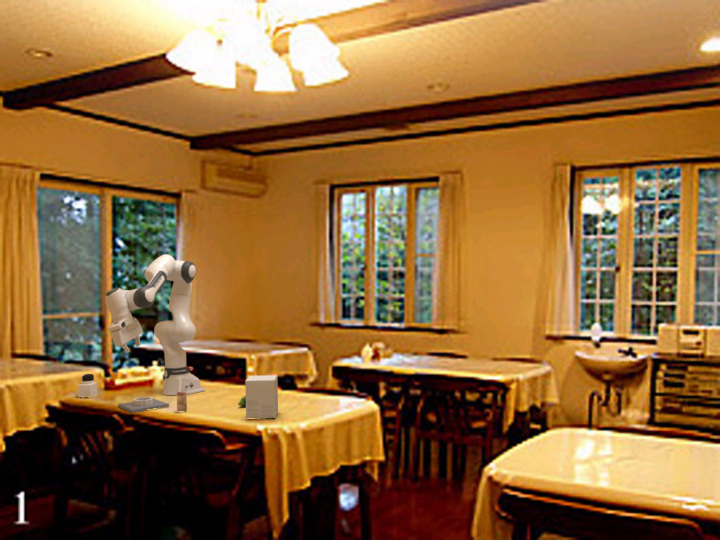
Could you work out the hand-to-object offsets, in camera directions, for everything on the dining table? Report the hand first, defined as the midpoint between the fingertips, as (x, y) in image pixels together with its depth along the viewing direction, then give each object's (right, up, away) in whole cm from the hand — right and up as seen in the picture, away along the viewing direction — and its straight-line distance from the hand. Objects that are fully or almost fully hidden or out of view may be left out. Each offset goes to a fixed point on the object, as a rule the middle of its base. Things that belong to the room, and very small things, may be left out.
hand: (133, 348), depth 304 cm
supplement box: (+64, -29, -16) cm, 72 cm away
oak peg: (+25, -29, -5) cm, 38 cm away
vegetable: (+56, -29, +9) cm, 63 cm away
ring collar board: (+3, -29, +7) cm, 30 cm away
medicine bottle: (-36, -30, +34) cm, 58 cm away
